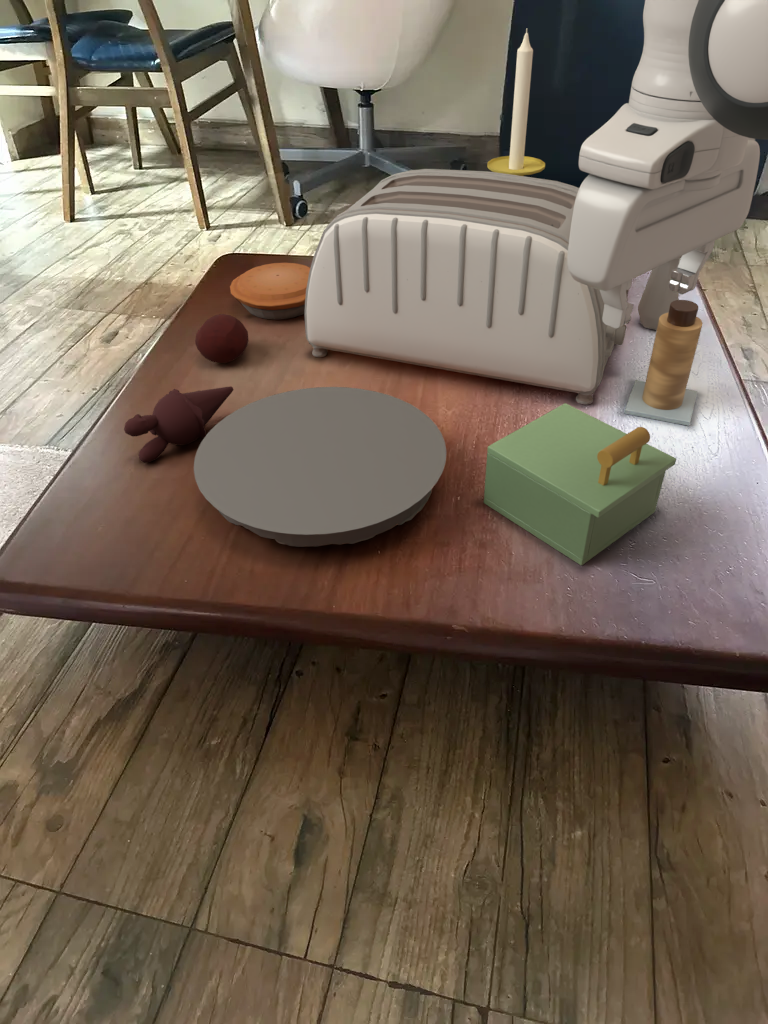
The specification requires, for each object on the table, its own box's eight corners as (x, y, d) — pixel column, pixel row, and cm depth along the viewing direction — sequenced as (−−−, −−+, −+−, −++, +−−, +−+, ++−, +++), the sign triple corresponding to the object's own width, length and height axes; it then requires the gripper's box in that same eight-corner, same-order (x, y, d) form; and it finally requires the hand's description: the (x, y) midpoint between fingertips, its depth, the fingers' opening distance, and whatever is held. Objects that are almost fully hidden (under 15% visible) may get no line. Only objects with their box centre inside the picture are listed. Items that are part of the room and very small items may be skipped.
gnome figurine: (207, 359, 100) (105, 415, 93) (238, 365, 95) (133, 425, 88) (227, 407, 104) (131, 464, 96) (258, 415, 98) (159, 477, 91)
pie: (251, 282, 134) (247, 254, 131) (338, 287, 131) (336, 258, 128) (219, 322, 122) (213, 292, 119) (314, 329, 120) (311, 298, 117)
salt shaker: (676, 318, 120) (695, 233, 111) (673, 334, 116) (693, 248, 107) (636, 313, 121) (652, 230, 113) (633, 329, 117) (649, 244, 109)
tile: (696, 394, 103) (697, 390, 102) (689, 426, 97) (690, 422, 97) (634, 383, 105) (635, 379, 105) (623, 413, 100) (624, 409, 99)
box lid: (675, 464, 80) (685, 425, 77) (598, 518, 74) (606, 477, 70) (564, 408, 88) (569, 371, 85) (486, 452, 82) (489, 413, 79)
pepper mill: (684, 393, 102) (708, 299, 93) (679, 413, 98) (704, 317, 90) (645, 386, 103) (665, 293, 95) (639, 405, 100) (659, 310, 92)
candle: (514, 278, 133) (537, 20, 109) (548, 300, 126) (580, 29, 102) (463, 290, 129) (475, 26, 105) (495, 313, 122) (515, 37, 98)
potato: (189, 368, 111) (181, 329, 108) (216, 339, 118) (209, 302, 114) (237, 374, 110) (231, 335, 106) (262, 344, 116) (257, 306, 113)
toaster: (618, 417, 99) (653, 242, 84) (301, 360, 112) (284, 200, 98) (641, 342, 114) (674, 183, 100) (359, 299, 127) (353, 154, 113)
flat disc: (457, 425, 98) (458, 394, 96) (429, 580, 77) (429, 547, 74) (244, 409, 102) (239, 379, 100) (162, 553, 81) (153, 520, 79)
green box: (655, 512, 84) (668, 461, 80) (581, 566, 78) (591, 514, 74) (557, 457, 93) (564, 409, 88) (483, 503, 86) (486, 452, 82)
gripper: (723, 100, 65) (686, 262, 74) (564, 150, 55) (543, 331, 64) (797, 113, 61) (748, 282, 70) (640, 169, 51) (606, 359, 60)
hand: (649, 306), depth 67 cm, fingers open, 8 cm apart
